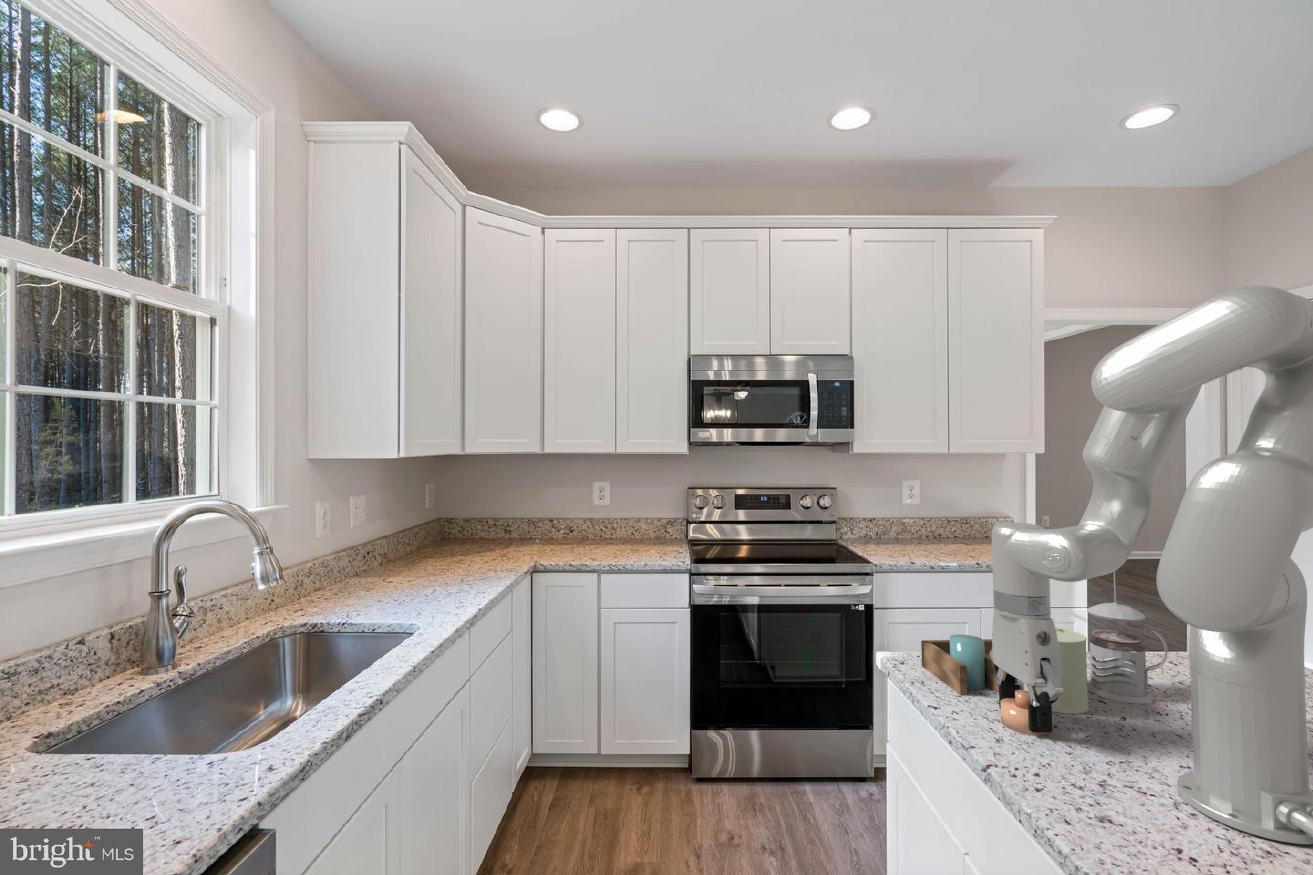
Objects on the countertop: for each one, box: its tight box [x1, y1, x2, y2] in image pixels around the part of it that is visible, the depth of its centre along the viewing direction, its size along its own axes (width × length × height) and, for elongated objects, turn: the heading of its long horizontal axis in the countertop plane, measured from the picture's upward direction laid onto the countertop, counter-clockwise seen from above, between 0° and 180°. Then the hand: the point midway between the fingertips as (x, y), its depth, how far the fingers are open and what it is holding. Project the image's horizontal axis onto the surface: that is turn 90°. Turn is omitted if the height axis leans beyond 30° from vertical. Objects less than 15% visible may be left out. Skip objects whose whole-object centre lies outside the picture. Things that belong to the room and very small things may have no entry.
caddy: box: [920, 638, 1001, 696], centre depth 108 cm, size 14×22×5 cm, turn 91°
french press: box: [1086, 571, 1169, 705], centre depth 101 cm, size 10×12×25 cm
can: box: [1023, 626, 1090, 715], centre depth 98 cm, size 9×9×12 cm
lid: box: [1000, 689, 1051, 737], centre depth 89 cm, size 6×6×5 cm
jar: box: [949, 633, 987, 691], centre depth 106 cm, size 6×6×8 cm
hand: (1024, 719), depth 89 cm, fingers closed on lid, 6 cm apart
